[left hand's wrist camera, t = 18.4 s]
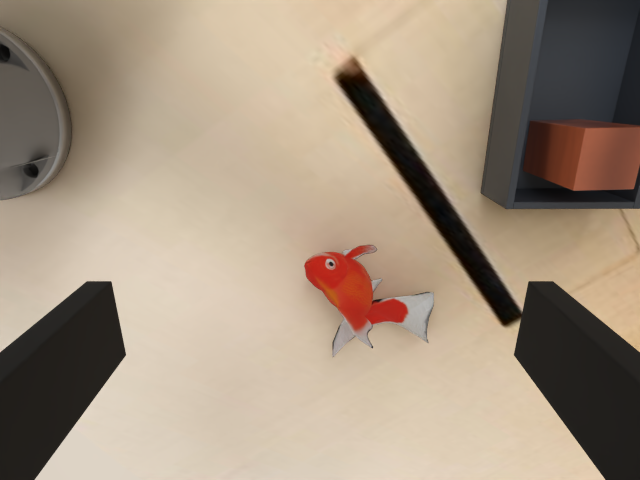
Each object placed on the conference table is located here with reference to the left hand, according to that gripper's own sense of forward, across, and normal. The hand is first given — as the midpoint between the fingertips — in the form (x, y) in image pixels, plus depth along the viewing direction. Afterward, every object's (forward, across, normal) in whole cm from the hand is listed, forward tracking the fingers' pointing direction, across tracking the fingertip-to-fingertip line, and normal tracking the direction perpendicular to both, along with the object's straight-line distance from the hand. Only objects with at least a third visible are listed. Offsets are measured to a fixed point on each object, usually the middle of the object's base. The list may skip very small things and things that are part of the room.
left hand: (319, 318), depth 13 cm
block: (+26, +21, +2) cm, 34 cm away
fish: (+27, +5, -12) cm, 30 cm away
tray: (+27, +21, +10) cm, 35 cm away
